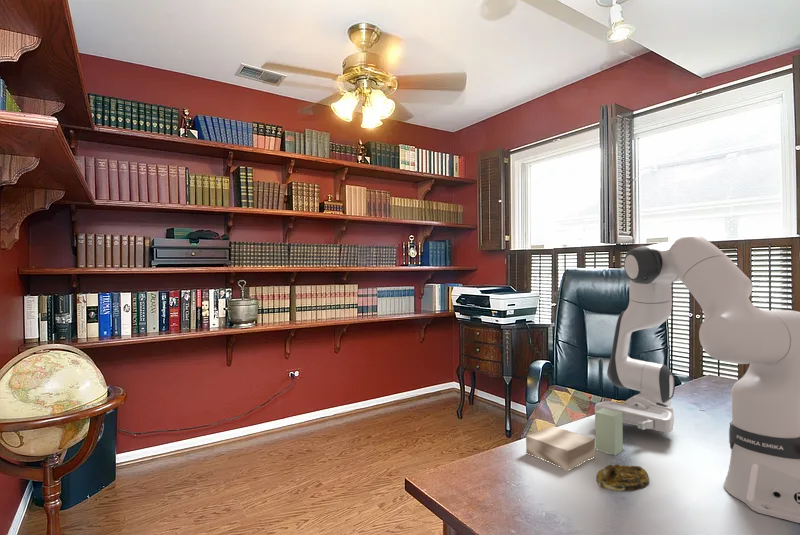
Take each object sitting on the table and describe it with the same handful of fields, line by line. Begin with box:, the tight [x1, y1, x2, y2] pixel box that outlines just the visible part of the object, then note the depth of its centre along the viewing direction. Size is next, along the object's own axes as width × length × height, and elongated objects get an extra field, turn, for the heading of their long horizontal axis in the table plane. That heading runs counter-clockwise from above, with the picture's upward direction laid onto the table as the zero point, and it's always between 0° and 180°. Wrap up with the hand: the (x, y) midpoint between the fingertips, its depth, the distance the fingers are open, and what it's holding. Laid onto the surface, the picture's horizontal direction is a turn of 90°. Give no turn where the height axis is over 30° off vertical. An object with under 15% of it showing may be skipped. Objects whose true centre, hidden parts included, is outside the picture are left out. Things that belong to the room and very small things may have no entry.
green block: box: [594, 408, 624, 456], centre depth 113 cm, size 5×5×10 cm
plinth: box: [525, 425, 596, 471], centre depth 109 cm, size 12×12×5 cm
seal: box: [596, 464, 650, 492], centre depth 97 cm, size 9×5×15 cm
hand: (622, 421), depth 118 cm, fingers open, 8 cm apart
